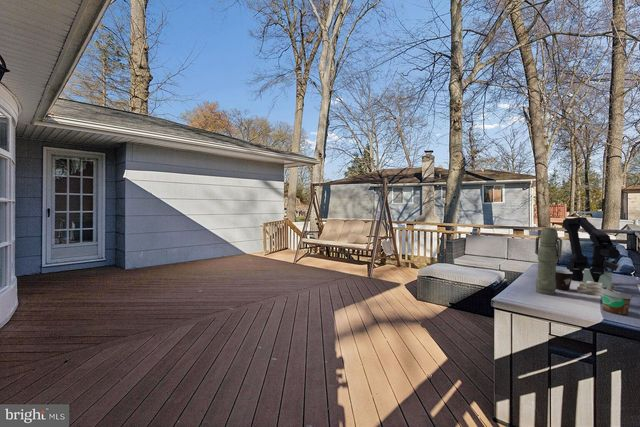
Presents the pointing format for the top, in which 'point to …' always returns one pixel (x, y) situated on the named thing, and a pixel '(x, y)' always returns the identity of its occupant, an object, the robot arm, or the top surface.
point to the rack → (591, 291)
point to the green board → (604, 278)
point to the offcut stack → (594, 285)
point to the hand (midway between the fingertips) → (597, 282)
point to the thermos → (547, 260)
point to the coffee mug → (563, 279)
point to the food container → (615, 301)
